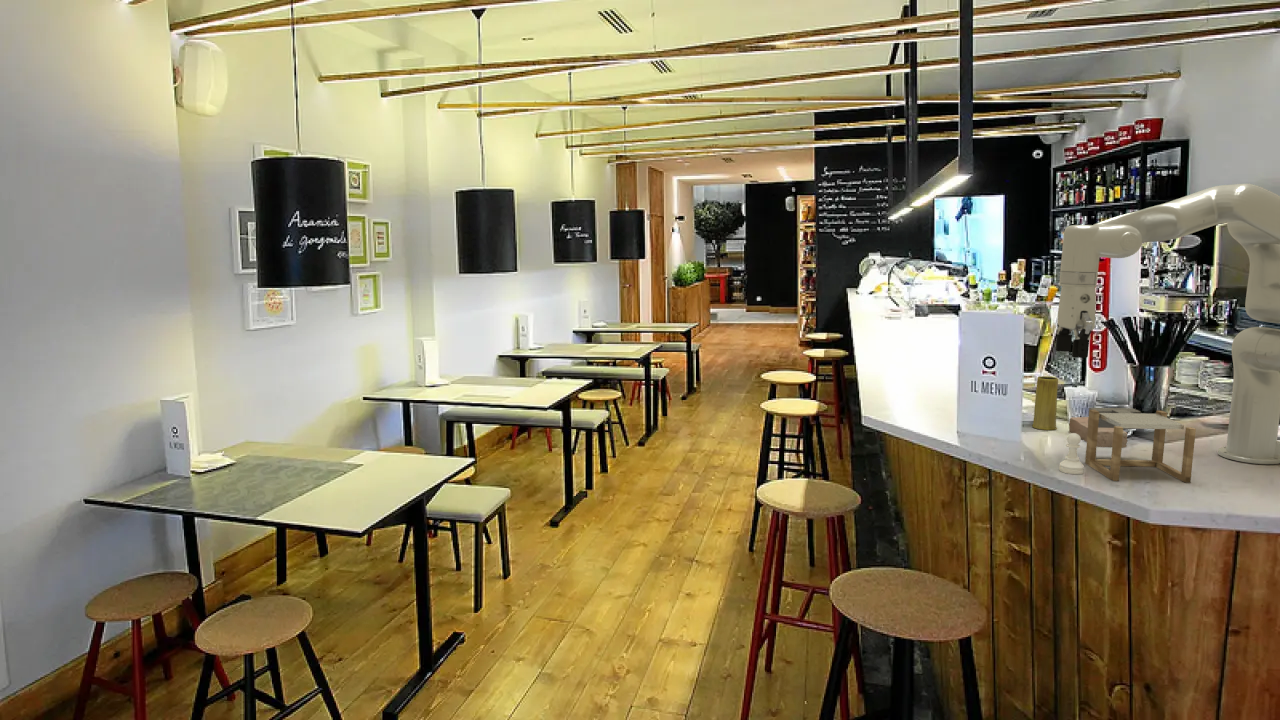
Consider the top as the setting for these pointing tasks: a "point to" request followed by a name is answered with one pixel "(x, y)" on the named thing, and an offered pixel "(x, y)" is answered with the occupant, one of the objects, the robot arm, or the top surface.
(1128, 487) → the top surface
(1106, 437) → the brick
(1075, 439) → the chess pawn
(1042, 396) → the vase
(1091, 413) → the frame
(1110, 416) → the trapdoor
